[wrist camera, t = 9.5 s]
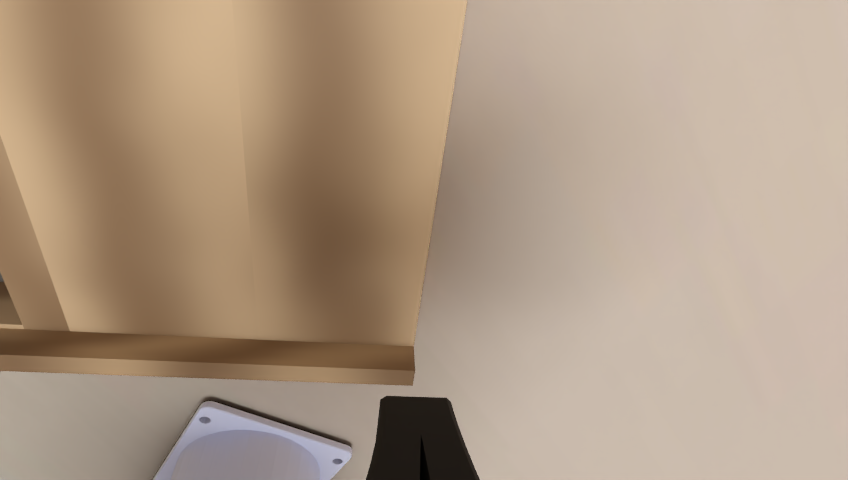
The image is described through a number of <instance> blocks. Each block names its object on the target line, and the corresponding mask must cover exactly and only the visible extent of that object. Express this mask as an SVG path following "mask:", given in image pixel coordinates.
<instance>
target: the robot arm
mask: <svg viewBox="0 0 848 480" xmlns="http://www.w3.org/2000/svg"><path fill="white" fill-rule="evenodd" d="M351 457H352V448H351V447H350V446H348V445H345V444H342V443H339V442H336V441H333V440H330V439H327V438H324V437H321V436H318V435H315V434H312V433H309V432H306V431H303V430H299V429H296V428H293V427H290V426H287V425H284V424H281V423H278V422H275V421H272V420H269V419H266V418H263V417H260V416H257V415H254V414H250V413H247V412H244V411H241V410H238V409H235V408H232V407H229V406H226V405H223V404H220V403H217V402H213V401H206V402H203V403H202V404H201V405H200V406H199V408H198V409H197V411H196V413H195V414H194V416H193V417H192V419H191V420H190V422H189V423H188V425H187V427H186V428H185V430H184V431H183V433H182V434H181V436H180V437H179V439H178V441H177V442H176V444H175V445H174V447H173V448H172V450H171V452H170V453H169V455H168V456H167V458H166V459H165V461H164V462H163V464H162V466H161V467H160V469H159V470H158V472H157V473H156V475H155V476H154V478H153V480H331V479H332V478H333V477H334V476H335V474H336V473H337V472H338V471H339V470H340V469H341V468H342V467H343V466H344V465H345V464H346V463H347V462H348V461H349V460H350V459H351ZM366 480H480V479H479V477H478V475H477V472H476V470H475V468H474V465H473V463H472V460H471V458H470V455H469V453H468V451H467V448H466V446H465V443H464V440H463V438H462V435H461V432H460V429H459V427H458V424H457V421H456V418H455V415H454V411H453V408H452V405H451V402H450V401H449V400H448V399H447V398H431V397H401V396H386V397H384V398H382V399H381V400H380V409H379V418H378V427H377V435H376V443H375V447H374V451H373V456H372V460H371V464H370V468H369V471H368V475H367V478H366Z"/></svg>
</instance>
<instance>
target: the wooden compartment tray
mask: <svg viewBox="0 0 848 480" xmlns="http://www.w3.org/2000/svg"><path fill="white" fill-rule="evenodd" d="M466 6H467V0H0V371H21V372H48V373H76V374H104V375H132V376H160V377H188V378H216V379H244V380H272V381H300V382H328V383H356V384H384V385H412V386H413V379H414V373H415V364H414V341H415V334H416V328H417V321H418V315H419V308H420V302H421V296H422V289H423V283H424V276H425V270H426V263H427V257H428V250H429V244H430V238H431V231H432V225H433V218H434V212H435V205H436V199H437V193H438V186H439V180H440V173H441V167H442V160H443V154H444V148H445V141H446V135H447V128H448V122H449V115H450V109H451V103H452V96H453V90H454V83H455V77H456V70H457V64H458V58H459V51H460V45H461V38H462V32H463V25H464V19H465V13H466Z"/></svg>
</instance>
